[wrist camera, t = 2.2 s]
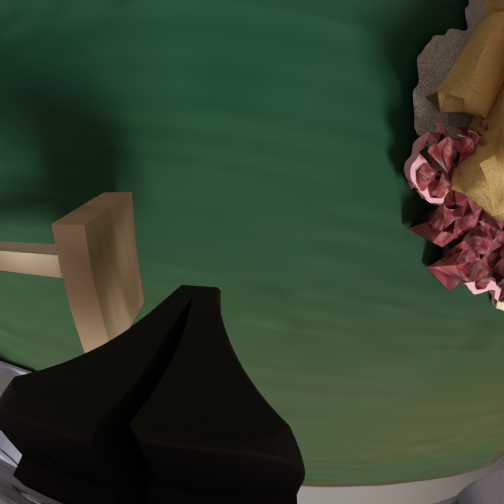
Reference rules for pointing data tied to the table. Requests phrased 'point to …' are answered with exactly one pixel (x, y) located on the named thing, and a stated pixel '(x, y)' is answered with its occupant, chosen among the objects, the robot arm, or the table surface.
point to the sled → (89, 265)
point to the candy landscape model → (463, 150)
